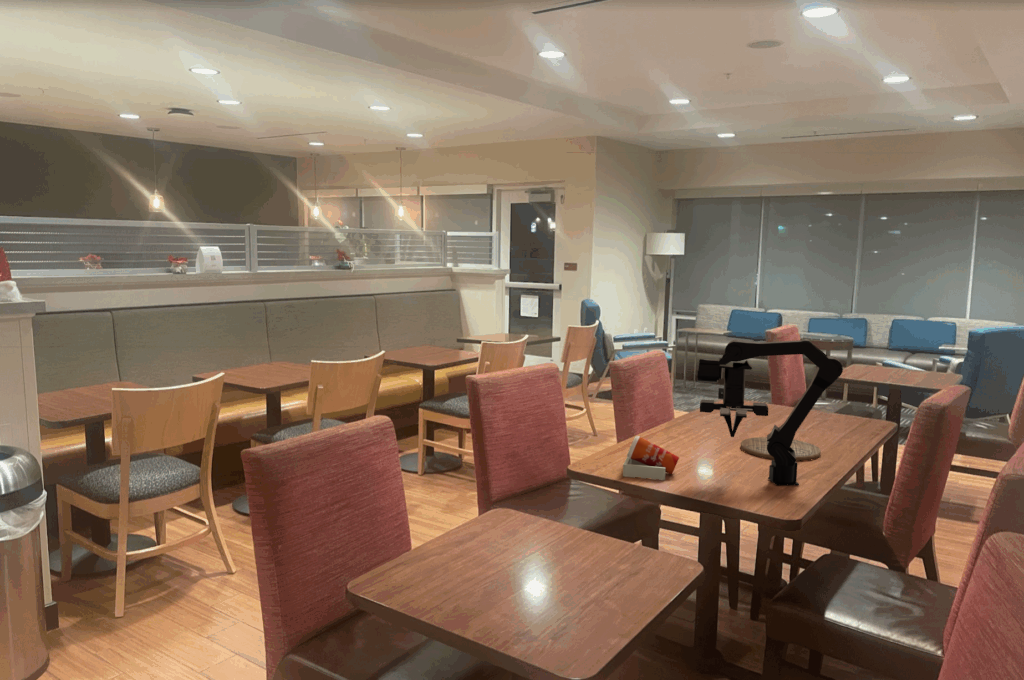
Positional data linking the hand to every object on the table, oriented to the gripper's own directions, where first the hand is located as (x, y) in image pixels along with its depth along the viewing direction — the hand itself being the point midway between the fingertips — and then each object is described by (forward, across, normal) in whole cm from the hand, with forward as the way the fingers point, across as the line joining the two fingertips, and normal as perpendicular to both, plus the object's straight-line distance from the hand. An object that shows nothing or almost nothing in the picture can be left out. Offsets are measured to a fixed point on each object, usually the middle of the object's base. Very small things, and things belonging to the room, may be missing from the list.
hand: (732, 436), depth 204 cm
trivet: (+13, -16, -36) cm, 41 cm away
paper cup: (+9, +15, +3) cm, 18 cm away
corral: (+12, +24, +3) cm, 27 cm away
